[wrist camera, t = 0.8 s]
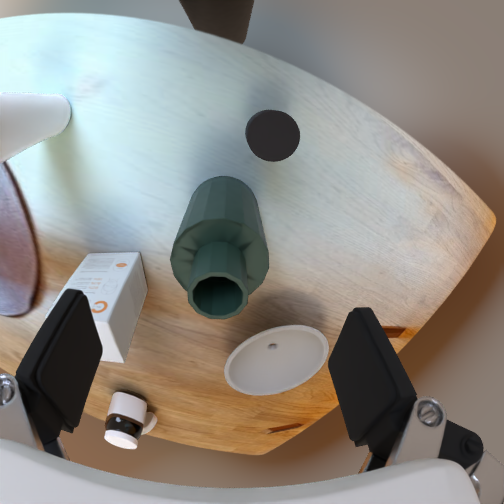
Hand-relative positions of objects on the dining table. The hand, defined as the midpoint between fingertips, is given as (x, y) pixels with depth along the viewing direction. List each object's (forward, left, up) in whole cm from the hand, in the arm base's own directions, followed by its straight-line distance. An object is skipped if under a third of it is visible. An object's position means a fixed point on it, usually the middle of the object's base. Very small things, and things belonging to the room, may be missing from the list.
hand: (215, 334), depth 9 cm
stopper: (-2, +6, -24) cm, 24 cm away
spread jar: (+33, -41, -24) cm, 58 cm away
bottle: (+4, -2, -24) cm, 24 cm away
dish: (+27, -6, -24) cm, 36 cm away
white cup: (-17, -14, -24) cm, 33 cm away
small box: (+5, -19, -24) cm, 31 cm away
